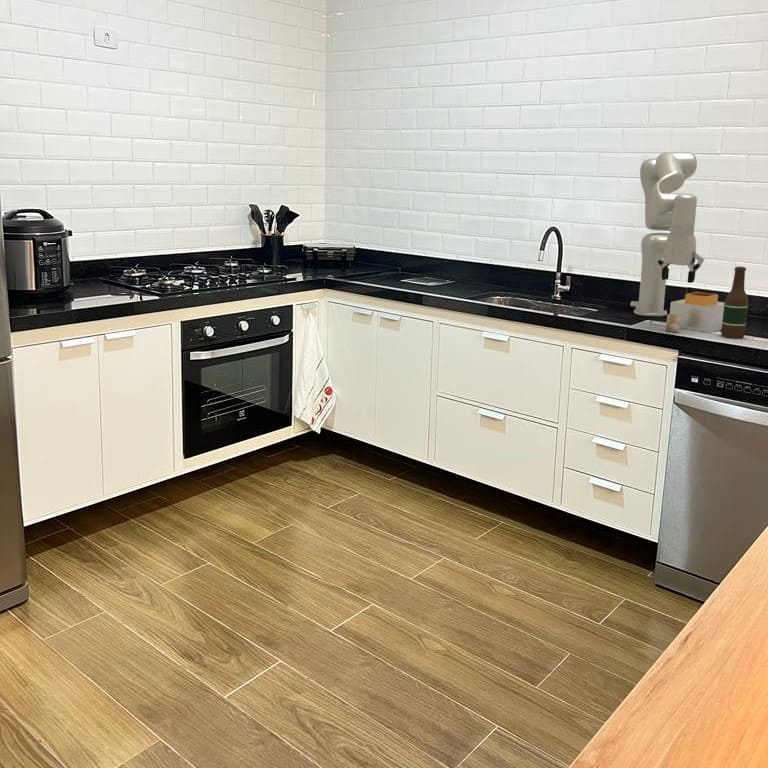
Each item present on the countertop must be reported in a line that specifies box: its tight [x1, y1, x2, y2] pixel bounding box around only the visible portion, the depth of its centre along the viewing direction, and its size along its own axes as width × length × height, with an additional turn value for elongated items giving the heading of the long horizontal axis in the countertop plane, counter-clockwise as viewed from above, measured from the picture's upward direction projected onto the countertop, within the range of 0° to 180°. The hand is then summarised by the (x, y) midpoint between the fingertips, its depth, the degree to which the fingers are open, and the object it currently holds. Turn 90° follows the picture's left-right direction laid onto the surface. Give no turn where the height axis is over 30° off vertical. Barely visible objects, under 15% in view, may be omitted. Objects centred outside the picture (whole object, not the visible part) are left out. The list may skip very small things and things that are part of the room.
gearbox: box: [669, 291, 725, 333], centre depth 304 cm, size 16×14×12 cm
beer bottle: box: [720, 266, 749, 339], centre depth 286 cm, size 8×8×24 cm
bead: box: [665, 313, 681, 333], centre depth 296 cm, size 4×4×6 cm
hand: (677, 281), depth 292 cm, fingers open, 9 cm apart
